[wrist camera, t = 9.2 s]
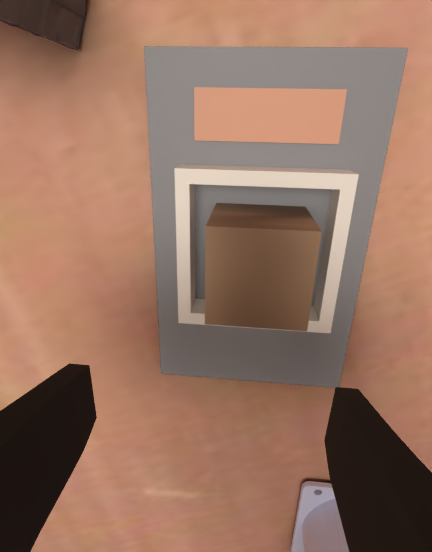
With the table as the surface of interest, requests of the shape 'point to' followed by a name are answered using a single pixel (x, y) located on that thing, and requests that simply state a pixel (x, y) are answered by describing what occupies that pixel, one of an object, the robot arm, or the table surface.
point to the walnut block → (260, 266)
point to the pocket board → (265, 189)
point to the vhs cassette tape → (47, 18)
